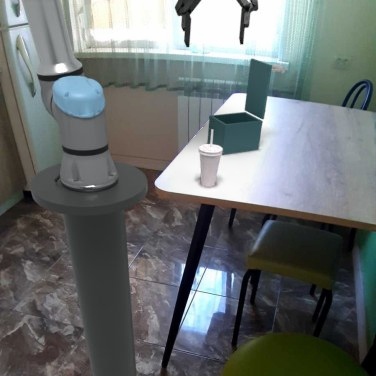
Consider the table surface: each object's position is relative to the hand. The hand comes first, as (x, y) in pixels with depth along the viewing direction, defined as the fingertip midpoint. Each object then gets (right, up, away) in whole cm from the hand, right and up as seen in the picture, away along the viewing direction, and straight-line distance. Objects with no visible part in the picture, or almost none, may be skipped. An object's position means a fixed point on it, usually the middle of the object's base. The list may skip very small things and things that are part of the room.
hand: (213, 43), depth 101 cm
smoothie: (-1, -30, +13) cm, 33 cm away
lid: (+15, +5, +27) cm, 31 cm away
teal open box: (+9, -9, +36) cm, 38 cm away
